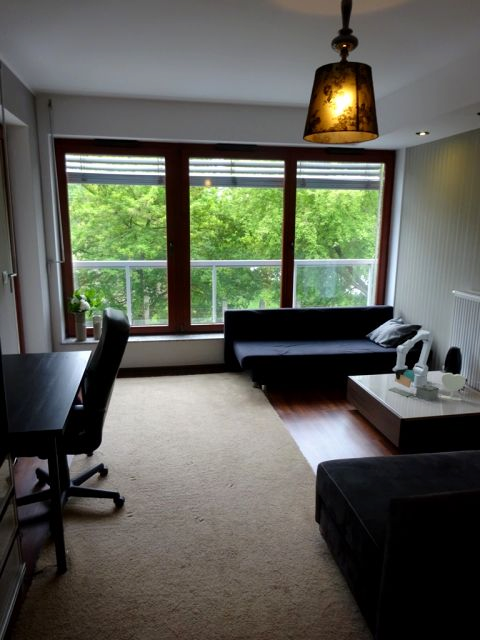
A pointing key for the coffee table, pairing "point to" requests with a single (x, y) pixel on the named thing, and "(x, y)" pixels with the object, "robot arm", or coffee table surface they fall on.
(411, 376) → the teal l-shaped bracket
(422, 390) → the dispenser
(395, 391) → the slate mat
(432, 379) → the coffee table surface
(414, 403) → the coffee table surface
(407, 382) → the tall tan wooden post
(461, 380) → the heart sculpture
